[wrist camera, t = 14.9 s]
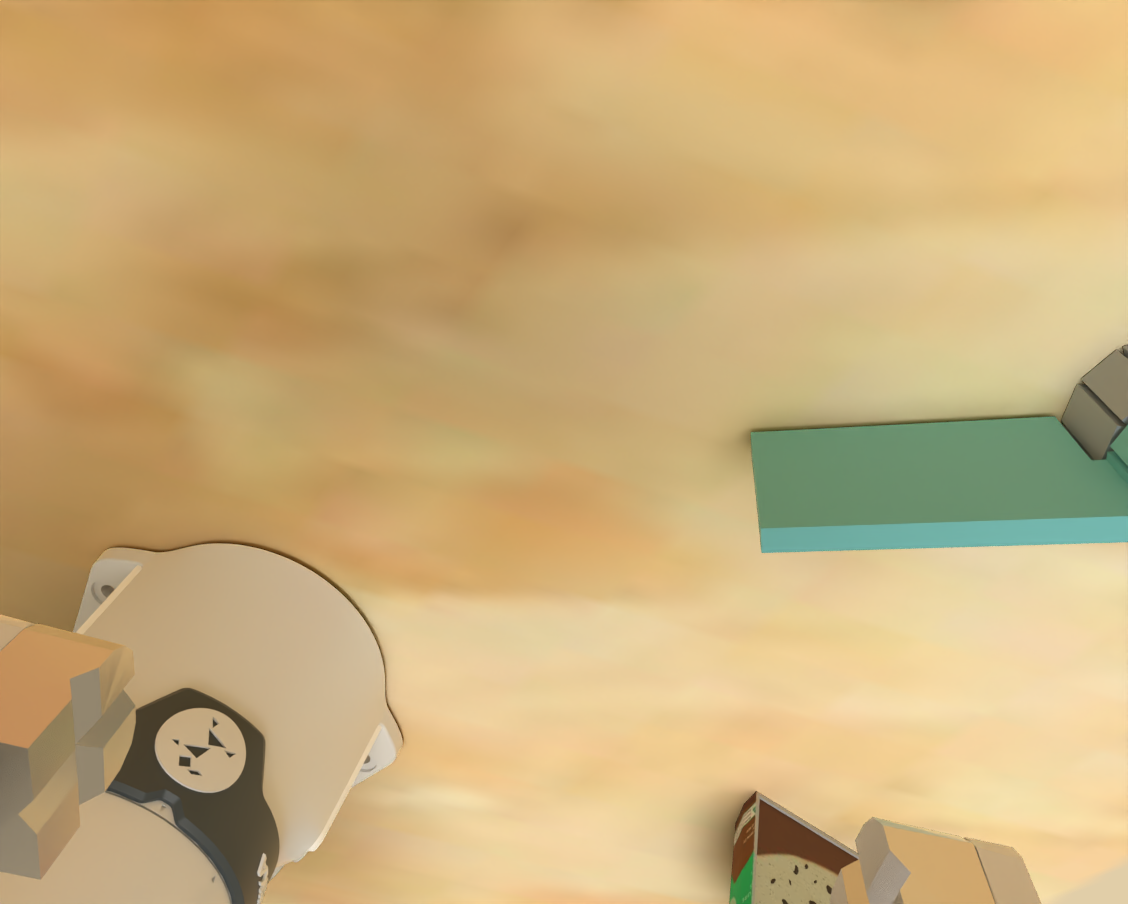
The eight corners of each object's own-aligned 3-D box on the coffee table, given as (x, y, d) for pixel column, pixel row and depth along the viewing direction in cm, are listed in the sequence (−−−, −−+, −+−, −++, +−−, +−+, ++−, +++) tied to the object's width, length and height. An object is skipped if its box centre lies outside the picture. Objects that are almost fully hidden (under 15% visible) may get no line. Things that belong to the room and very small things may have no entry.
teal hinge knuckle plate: (1280, 331, 34) (1429, 418, 27) (1243, 495, 37) (1368, 612, 30) (748, 366, 37) (757, 451, 30) (753, 513, 40) (763, 621, 33)
